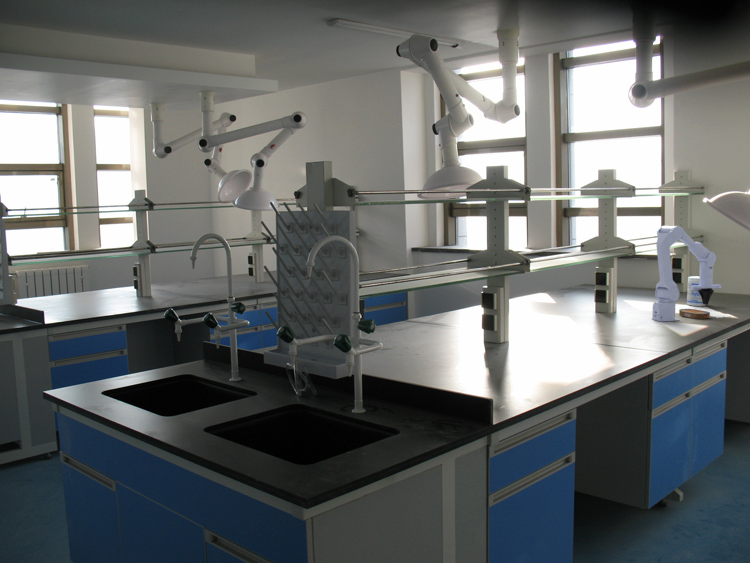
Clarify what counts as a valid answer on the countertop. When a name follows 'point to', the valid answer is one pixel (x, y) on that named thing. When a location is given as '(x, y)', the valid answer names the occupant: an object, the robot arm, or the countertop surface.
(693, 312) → the tin
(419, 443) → the countertop surface
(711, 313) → the mat
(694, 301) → the supplement tub
